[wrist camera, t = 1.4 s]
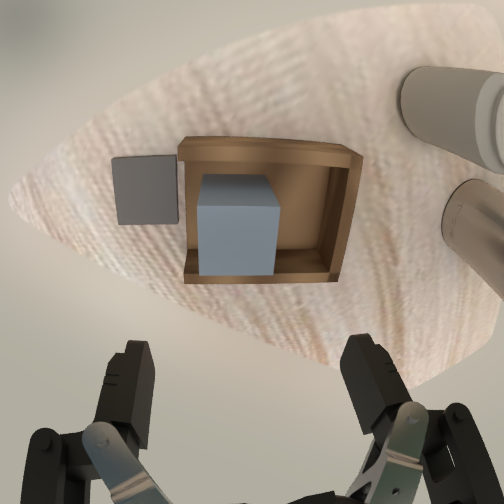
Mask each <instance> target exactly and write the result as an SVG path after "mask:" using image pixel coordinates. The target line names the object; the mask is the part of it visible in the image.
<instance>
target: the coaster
mask: <svg viewBox="0 0 504 504" xmlns="http://www.w3.org/2000/svg"><path fill="white" fill-rule="evenodd" d="M111 162H112V174H113V184H114V193H115V202H116V210H117V217H118V224H119V225H147V224H178V222H179V217H178V195H177V160H176V155H153V156H134V157H119V158H113V159H111Z"/></svg>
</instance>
